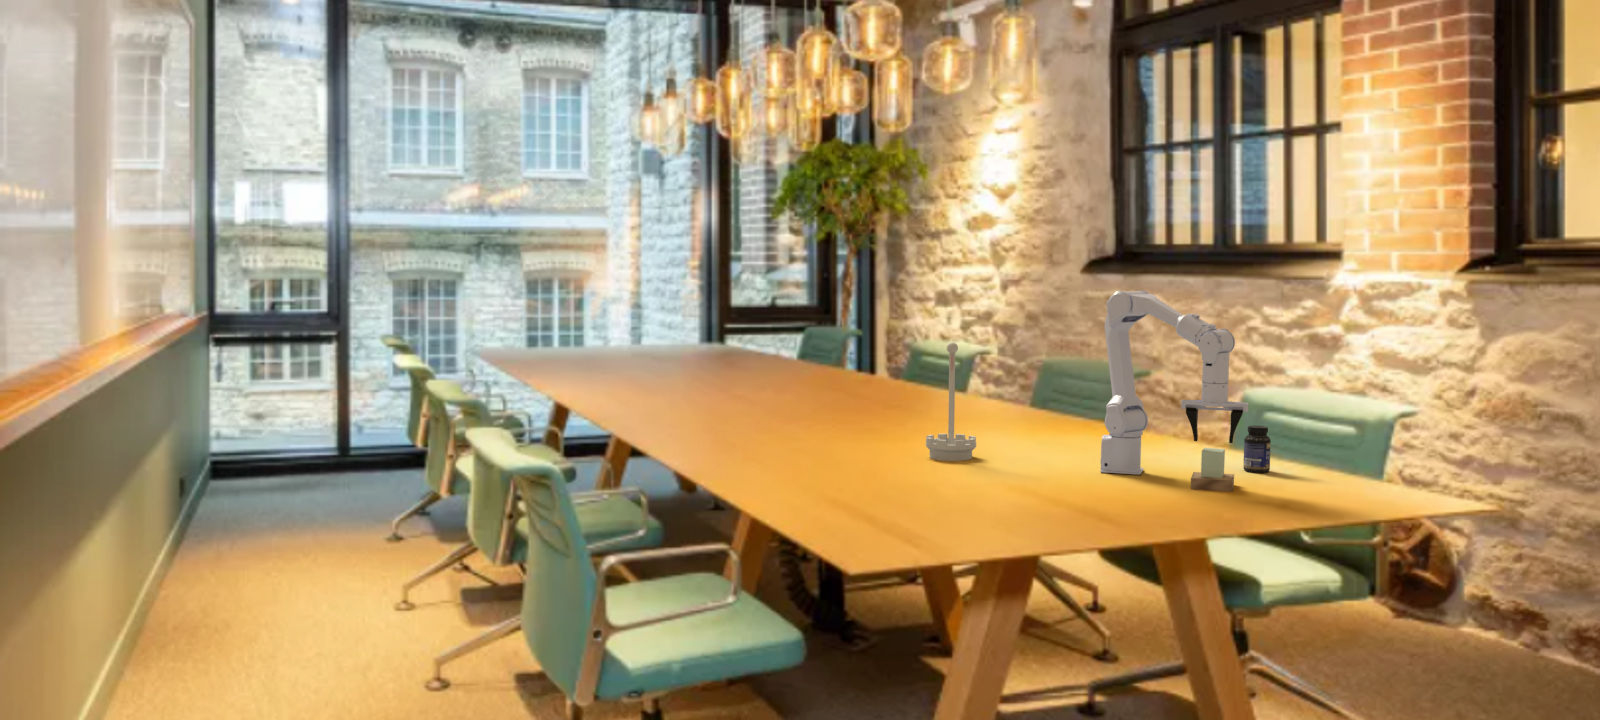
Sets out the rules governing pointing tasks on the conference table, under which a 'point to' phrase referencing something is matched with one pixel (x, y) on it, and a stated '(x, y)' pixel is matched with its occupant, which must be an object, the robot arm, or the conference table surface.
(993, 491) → the conference table surface
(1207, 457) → the sage block
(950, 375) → the flag stand
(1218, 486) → the walnut box
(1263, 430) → the pill bottle
